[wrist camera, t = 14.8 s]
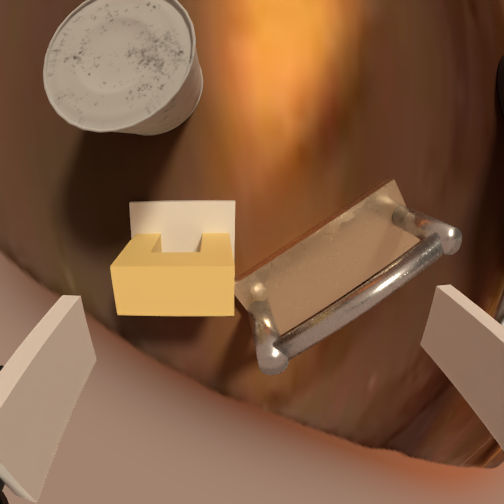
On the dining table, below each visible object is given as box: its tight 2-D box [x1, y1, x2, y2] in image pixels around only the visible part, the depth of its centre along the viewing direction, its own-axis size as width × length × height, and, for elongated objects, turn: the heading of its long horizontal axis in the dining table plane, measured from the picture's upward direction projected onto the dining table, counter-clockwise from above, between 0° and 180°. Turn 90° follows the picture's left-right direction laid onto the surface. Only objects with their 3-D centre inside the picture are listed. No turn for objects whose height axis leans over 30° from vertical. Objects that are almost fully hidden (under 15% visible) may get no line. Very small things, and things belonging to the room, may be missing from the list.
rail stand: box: [234, 178, 462, 375], centre depth 29 cm, size 20×8×10 cm, turn 123°
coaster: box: [129, 200, 235, 259], centre depth 31 cm, size 10×10×1 cm
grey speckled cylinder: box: [43, 0, 203, 135], centre depth 20 cm, size 10×10×12 cm
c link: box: [110, 233, 235, 316], centre depth 27 cm, size 9×4×8 cm, turn 88°
